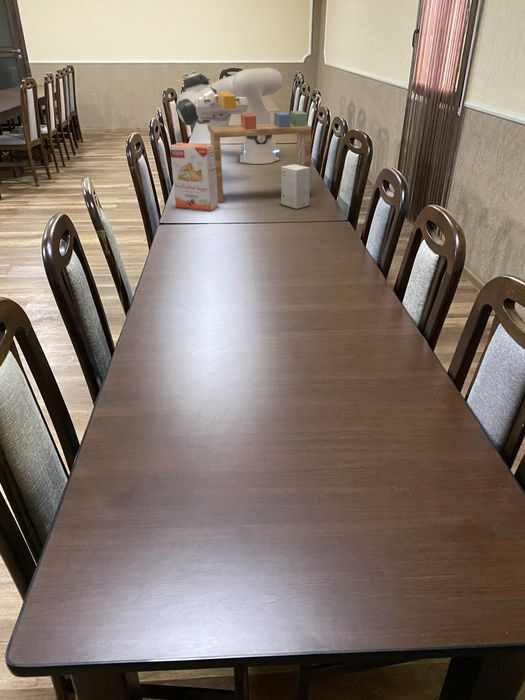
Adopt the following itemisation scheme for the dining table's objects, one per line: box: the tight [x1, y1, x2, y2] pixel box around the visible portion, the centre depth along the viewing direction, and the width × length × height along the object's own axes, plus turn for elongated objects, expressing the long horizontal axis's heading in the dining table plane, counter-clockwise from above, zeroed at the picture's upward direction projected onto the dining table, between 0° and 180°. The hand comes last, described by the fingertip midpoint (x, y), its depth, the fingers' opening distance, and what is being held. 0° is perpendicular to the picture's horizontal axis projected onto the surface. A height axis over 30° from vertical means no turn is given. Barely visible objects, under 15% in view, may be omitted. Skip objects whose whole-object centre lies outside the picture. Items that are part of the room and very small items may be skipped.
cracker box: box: [169, 142, 219, 212], centre depth 183 cm, size 14×6×21 cm, turn 68°
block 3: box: [290, 110, 308, 127], centre depth 190 cm, size 8×4×4 cm, turn 11°
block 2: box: [273, 111, 291, 127], centre depth 189 cm, size 8×4×4 cm, turn 11°
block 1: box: [240, 112, 256, 129], centre depth 187 cm, size 8×4×4 cm, turn 11°
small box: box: [280, 163, 311, 209], centre depth 185 cm, size 8×6×13 cm
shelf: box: [209, 122, 312, 204], centre depth 195 cm, size 12×34×24 cm, turn 101°
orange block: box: [216, 91, 236, 109], centre depth 193 cm, size 20×4×4 cm, turn 12°
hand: (223, 96), depth 198 cm, fingers closed on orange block, 4 cm apart
